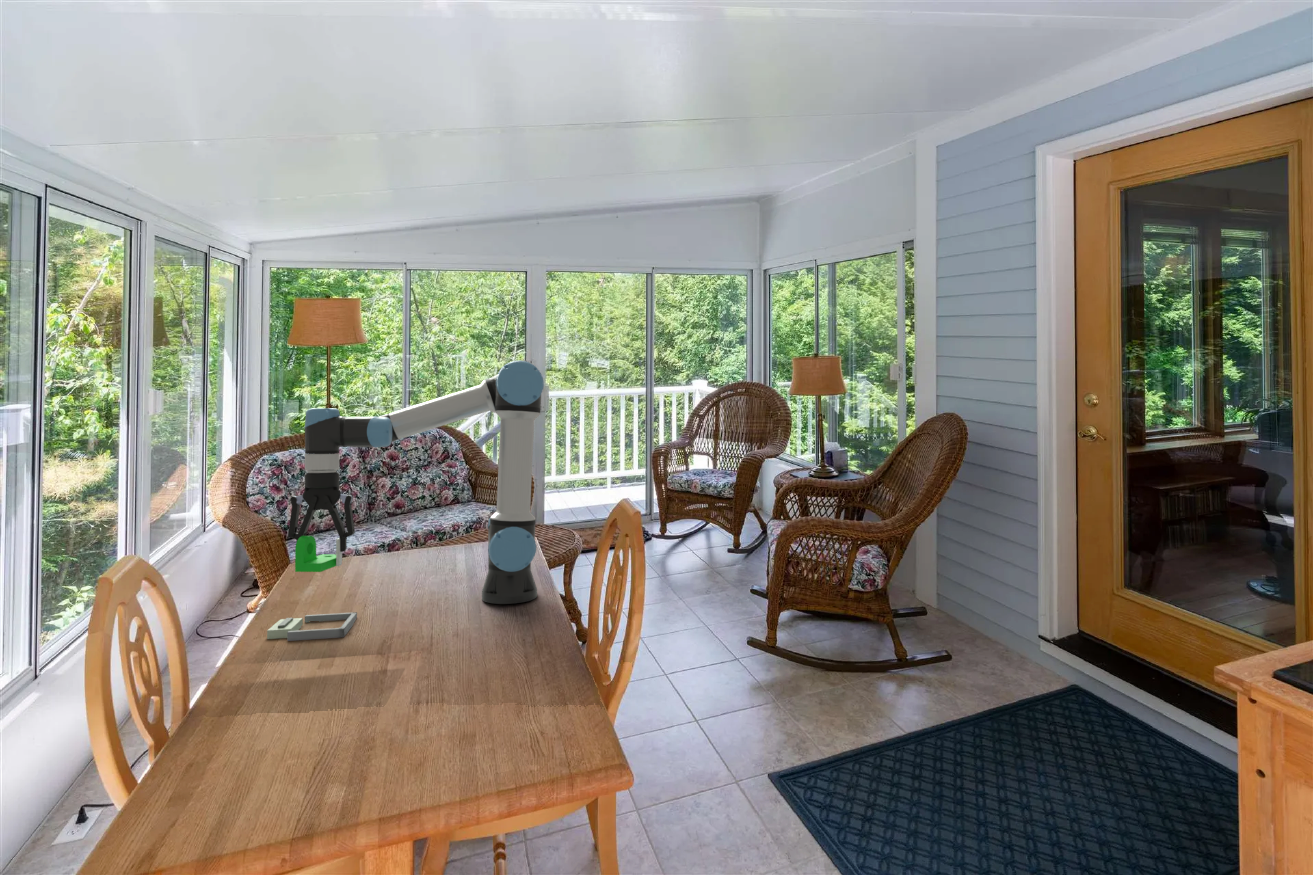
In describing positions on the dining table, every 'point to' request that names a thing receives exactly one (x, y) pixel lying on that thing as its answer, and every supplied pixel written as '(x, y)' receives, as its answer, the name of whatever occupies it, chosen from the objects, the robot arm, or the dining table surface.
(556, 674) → the dining table surface
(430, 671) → the dining table surface
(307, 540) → the mechanical part
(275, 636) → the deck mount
